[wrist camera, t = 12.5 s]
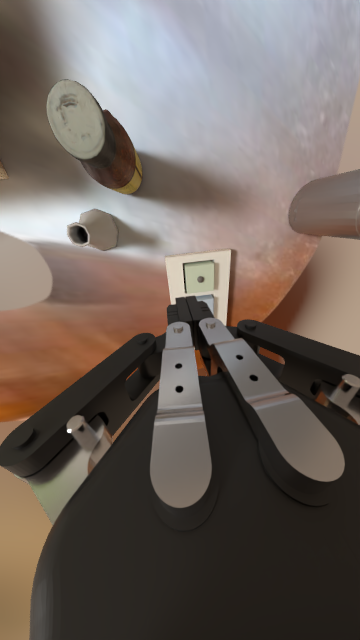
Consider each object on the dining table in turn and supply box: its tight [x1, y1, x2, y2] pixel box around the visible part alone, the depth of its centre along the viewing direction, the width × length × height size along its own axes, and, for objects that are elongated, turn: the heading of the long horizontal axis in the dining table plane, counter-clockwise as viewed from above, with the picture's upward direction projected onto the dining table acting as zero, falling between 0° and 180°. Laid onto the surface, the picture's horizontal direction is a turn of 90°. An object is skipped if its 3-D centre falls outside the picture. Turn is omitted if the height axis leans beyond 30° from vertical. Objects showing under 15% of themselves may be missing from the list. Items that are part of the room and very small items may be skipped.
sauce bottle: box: [46, 79, 142, 194], centre depth 20 cm, size 6×6×20 cm
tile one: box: [184, 261, 214, 294], centre depth 37 cm, size 6×6×3 cm
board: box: [165, 249, 231, 349], centre depth 43 cm, size 14×26×2 cm, turn 5°
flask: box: [67, 209, 118, 251], centre depth 28 cm, size 7×7×10 cm
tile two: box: [195, 294, 214, 314], centre depth 42 cm, size 6×6×3 cm
